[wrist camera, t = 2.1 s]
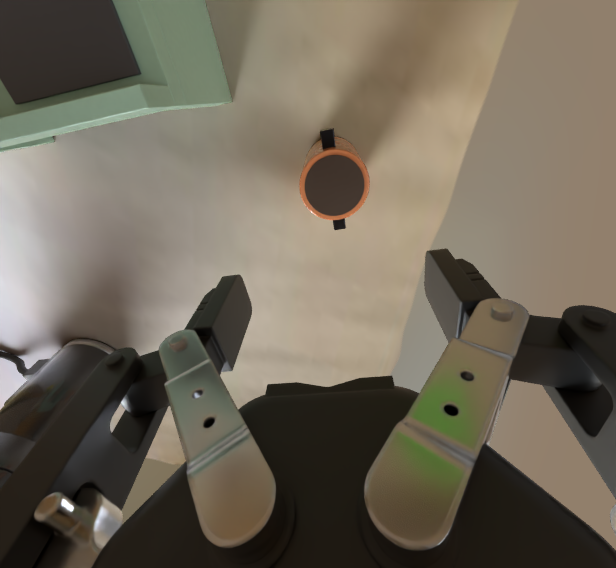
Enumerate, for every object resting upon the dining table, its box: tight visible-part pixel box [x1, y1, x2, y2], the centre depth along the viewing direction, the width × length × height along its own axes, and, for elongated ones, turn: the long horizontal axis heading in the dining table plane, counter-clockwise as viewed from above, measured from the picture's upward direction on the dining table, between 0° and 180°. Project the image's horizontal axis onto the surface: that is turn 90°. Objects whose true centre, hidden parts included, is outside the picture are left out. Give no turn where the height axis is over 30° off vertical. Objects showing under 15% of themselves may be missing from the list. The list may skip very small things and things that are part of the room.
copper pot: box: [300, 128, 370, 230], centre depth 26 cm, size 5×8×8 cm
